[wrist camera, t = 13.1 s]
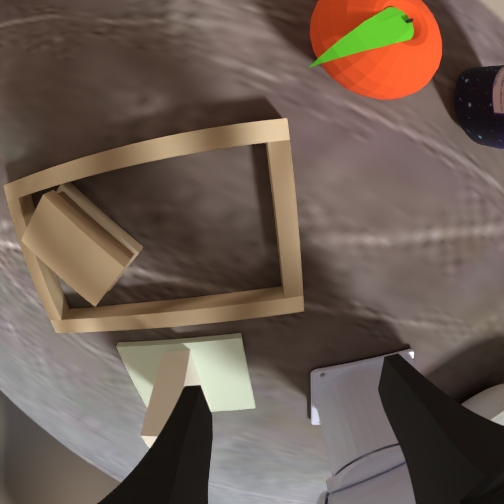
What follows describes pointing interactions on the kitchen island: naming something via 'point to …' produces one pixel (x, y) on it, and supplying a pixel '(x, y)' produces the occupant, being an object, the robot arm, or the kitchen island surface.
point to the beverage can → (482, 104)
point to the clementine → (376, 45)
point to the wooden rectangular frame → (183, 309)
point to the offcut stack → (79, 242)
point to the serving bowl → (488, 404)
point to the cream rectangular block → (168, 390)
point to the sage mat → (207, 363)
